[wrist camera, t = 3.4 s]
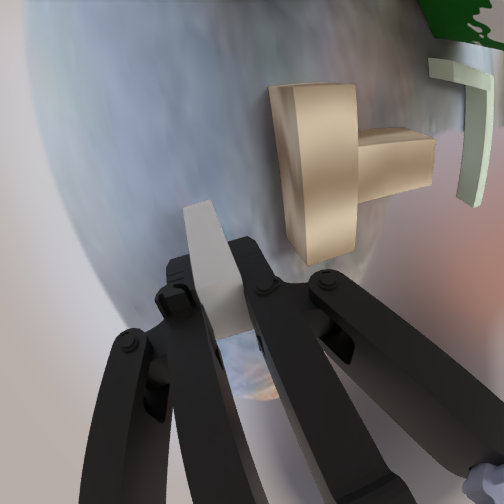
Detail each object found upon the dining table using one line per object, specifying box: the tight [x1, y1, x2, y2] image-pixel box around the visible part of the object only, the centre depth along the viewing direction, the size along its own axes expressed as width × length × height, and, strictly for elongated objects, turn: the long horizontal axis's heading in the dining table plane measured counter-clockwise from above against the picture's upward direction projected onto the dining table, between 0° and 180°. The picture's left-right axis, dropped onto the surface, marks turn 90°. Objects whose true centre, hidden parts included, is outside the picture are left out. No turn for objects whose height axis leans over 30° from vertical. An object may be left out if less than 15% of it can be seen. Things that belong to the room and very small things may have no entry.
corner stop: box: [428, 58, 494, 208], centre depth 20 cm, size 16×9×3 cm, turn 9°
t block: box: [268, 82, 436, 266], centre depth 18 cm, size 12×12×4 cm
